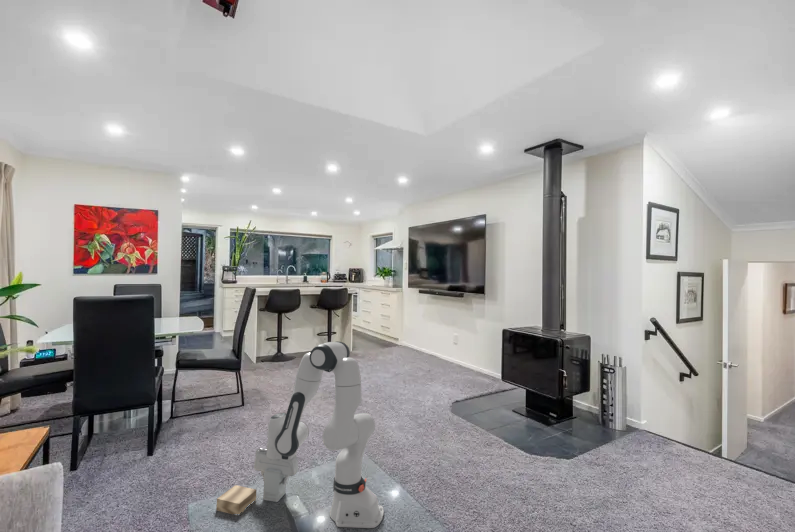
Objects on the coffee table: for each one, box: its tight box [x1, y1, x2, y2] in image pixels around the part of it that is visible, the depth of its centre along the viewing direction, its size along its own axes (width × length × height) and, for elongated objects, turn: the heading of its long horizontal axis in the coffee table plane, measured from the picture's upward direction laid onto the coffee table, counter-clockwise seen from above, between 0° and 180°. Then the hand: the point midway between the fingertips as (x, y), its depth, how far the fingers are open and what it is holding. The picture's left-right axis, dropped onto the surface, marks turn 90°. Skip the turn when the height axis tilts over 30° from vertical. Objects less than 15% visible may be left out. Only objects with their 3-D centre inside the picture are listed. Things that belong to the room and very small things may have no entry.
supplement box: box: [262, 469, 287, 503], centre depth 164 cm, size 7×7×13 cm
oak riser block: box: [215, 484, 257, 515], centre depth 156 cm, size 11×11×5 cm
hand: (275, 482), depth 164 cm, fingers open, 8 cm apart
